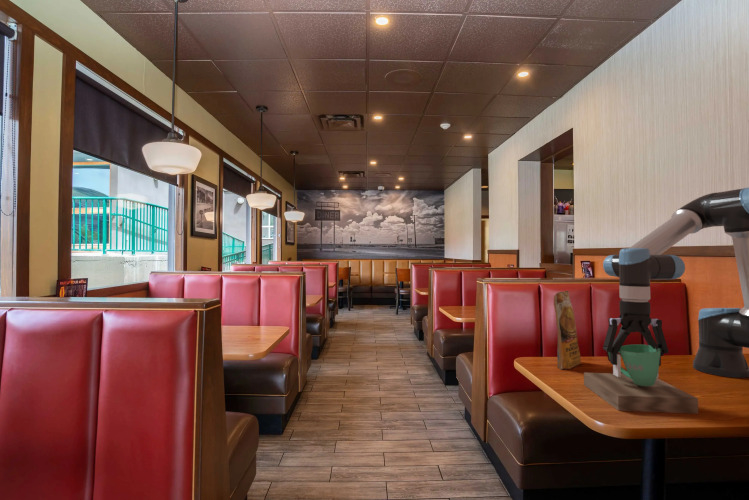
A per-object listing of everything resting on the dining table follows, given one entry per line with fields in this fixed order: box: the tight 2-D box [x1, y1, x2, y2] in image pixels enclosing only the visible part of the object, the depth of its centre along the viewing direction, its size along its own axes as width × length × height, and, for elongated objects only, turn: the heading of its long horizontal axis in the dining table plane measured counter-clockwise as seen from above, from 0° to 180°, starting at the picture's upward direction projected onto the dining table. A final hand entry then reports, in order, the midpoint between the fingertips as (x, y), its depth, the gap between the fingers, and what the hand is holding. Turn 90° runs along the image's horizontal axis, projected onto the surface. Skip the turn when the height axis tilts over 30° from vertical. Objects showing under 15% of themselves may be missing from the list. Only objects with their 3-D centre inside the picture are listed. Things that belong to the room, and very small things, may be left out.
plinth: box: [583, 372, 699, 415], centre depth 110 cm, size 20×20×4 cm
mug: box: [605, 344, 660, 386], centre depth 110 cm, size 15×10×10 cm
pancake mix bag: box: [553, 291, 582, 370], centre depth 143 cm, size 7×19×28 cm, turn 132°
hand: (635, 376), depth 110 cm, fingers closed on mug, 9 cm apart
